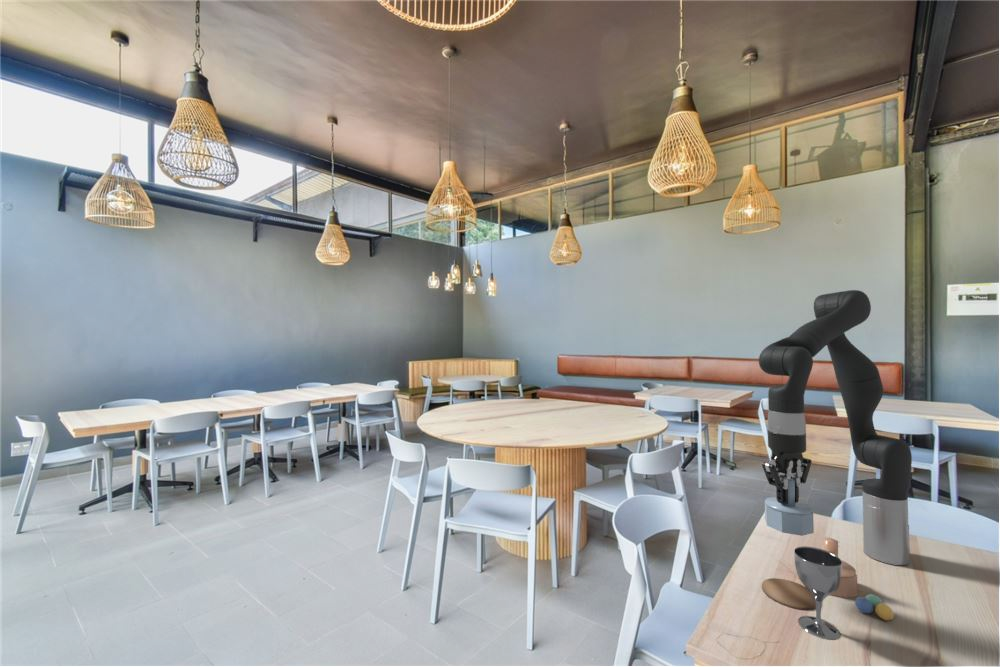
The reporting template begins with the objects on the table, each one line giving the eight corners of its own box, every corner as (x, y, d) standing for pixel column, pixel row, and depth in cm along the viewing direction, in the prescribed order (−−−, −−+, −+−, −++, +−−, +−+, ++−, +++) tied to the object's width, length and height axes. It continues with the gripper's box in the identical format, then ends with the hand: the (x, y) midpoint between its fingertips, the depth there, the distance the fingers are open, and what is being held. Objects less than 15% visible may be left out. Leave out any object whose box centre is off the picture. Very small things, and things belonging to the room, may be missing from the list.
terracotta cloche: (824, 571, 107) (823, 529, 107) (865, 592, 98) (864, 545, 98) (799, 579, 104) (798, 534, 104) (839, 600, 95) (838, 552, 95)
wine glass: (852, 643, 82) (850, 568, 82) (807, 638, 84) (806, 564, 84) (829, 617, 90) (827, 548, 90) (788, 612, 92) (787, 544, 92)
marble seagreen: (870, 603, 94) (870, 590, 94) (886, 611, 92) (886, 598, 92) (861, 606, 93) (861, 592, 93) (877, 614, 91) (877, 600, 91)
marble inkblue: (860, 606, 93) (860, 593, 93) (876, 614, 90) (876, 601, 91) (852, 609, 92) (851, 596, 92) (867, 618, 90) (867, 604, 90)
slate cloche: (783, 515, 104) (782, 471, 104) (822, 531, 95) (821, 483, 95) (756, 520, 101) (755, 475, 101) (793, 538, 92) (792, 488, 92)
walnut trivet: (783, 577, 105) (783, 574, 105) (830, 603, 95) (830, 600, 95) (751, 585, 101) (751, 583, 101) (795, 614, 91) (795, 611, 91)
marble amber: (880, 612, 91) (880, 599, 91) (897, 621, 88) (897, 607, 88) (871, 615, 90) (871, 602, 90) (888, 624, 87) (888, 610, 87)
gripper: (791, 424, 104) (793, 493, 104) (750, 429, 100) (751, 500, 100) (823, 430, 97) (824, 504, 97) (780, 436, 93) (781, 513, 92)
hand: (787, 502), depth 98 cm, fingers closed on slate cloche, 3 cm apart
